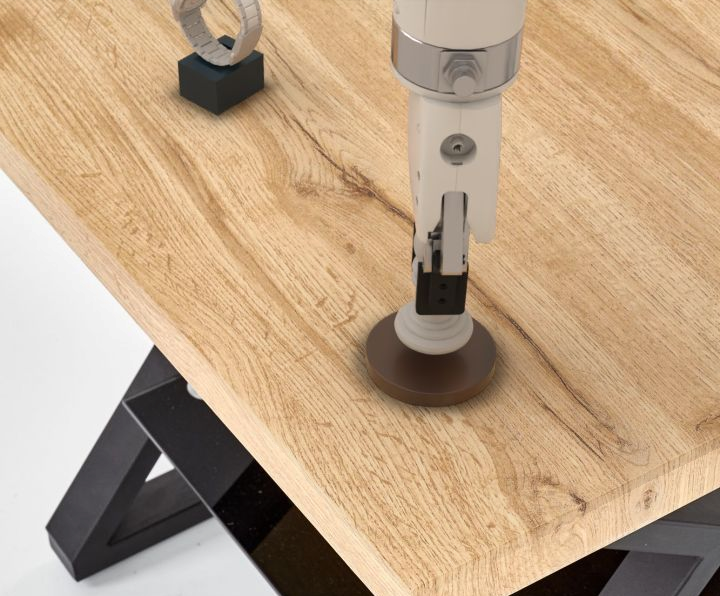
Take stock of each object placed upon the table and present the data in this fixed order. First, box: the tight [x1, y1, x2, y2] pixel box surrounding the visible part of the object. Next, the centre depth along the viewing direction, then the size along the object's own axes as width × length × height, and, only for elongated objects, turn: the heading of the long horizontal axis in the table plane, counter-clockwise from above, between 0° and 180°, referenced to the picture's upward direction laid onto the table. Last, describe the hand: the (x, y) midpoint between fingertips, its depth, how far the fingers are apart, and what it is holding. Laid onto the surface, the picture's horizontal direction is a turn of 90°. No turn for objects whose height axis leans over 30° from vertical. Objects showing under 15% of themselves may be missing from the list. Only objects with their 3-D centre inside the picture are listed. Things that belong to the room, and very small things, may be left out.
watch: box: [167, 0, 265, 116], centre depth 126 cm, size 6×8×11 cm
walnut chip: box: [364, 310, 498, 408], centre depth 108 cm, size 9×9×1 cm
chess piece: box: [394, 222, 473, 355], centre depth 103 cm, size 5×5×9 cm
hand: (437, 289), depth 104 cm, fingers closed on chess piece, 3 cm apart
